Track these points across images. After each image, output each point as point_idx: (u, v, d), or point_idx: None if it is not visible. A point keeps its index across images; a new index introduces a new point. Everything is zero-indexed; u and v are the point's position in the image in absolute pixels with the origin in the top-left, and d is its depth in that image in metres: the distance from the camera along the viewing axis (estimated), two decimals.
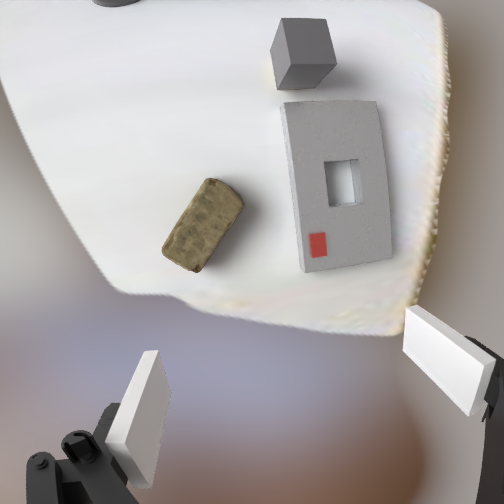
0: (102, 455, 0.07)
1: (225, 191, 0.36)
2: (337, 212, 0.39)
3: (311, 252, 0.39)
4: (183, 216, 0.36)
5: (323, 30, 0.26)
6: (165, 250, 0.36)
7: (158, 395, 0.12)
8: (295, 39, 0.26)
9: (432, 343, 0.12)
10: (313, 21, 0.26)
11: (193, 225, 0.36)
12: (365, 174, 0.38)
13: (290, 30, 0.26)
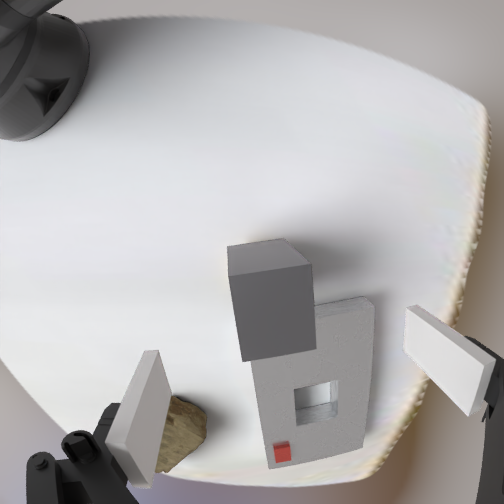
0: (102, 455, 0.07)
1: (184, 430, 0.29)
2: (306, 428, 0.32)
3: (275, 458, 0.32)
4: None
5: (304, 290, 0.19)
6: None
7: (158, 395, 0.12)
8: (252, 319, 0.19)
9: (432, 343, 0.12)
10: (287, 274, 0.18)
11: None
12: (343, 392, 0.31)
13: (244, 301, 0.19)
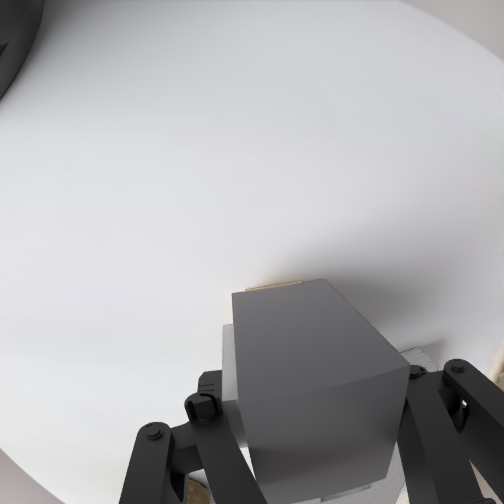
0: (223, 417, 0.09)
1: None
2: (331, 503, 0.21)
3: None
4: None
5: (388, 409, 0.08)
6: None
7: None
8: (285, 463, 0.08)
9: None
10: (363, 390, 0.08)
11: None
12: None
13: (271, 440, 0.08)
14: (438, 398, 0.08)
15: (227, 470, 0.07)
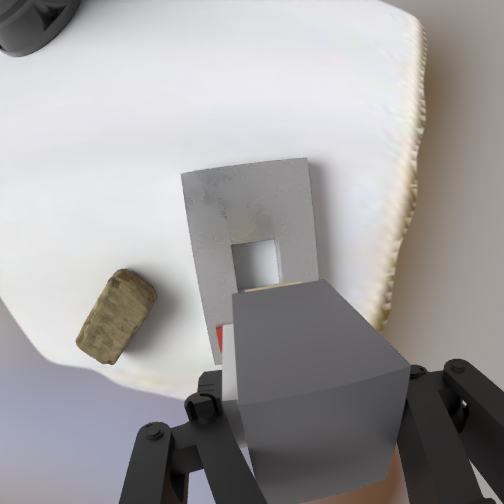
0: (223, 417, 0.09)
1: (128, 295, 0.31)
2: None
3: None
4: (91, 316, 0.31)
5: (389, 411, 0.08)
6: (78, 344, 0.31)
7: None
8: (285, 464, 0.08)
9: None
10: (363, 391, 0.08)
11: (100, 325, 0.31)
12: (286, 256, 0.33)
13: (271, 441, 0.08)
14: (438, 398, 0.08)
15: (227, 470, 0.07)
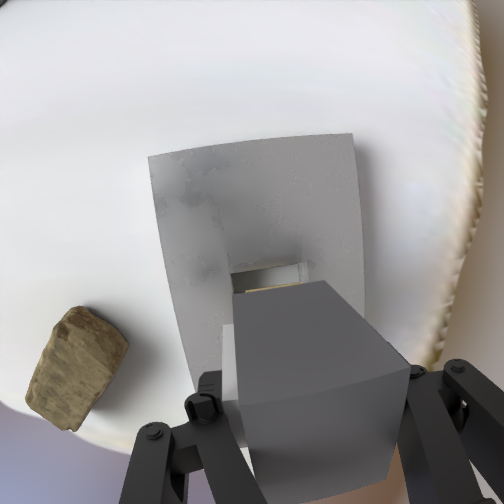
0: (223, 417, 0.09)
1: (83, 351, 0.18)
2: None
3: None
4: (37, 372, 0.18)
5: (389, 411, 0.08)
6: (28, 403, 0.19)
7: None
8: (285, 465, 0.08)
9: None
10: (364, 392, 0.08)
11: (51, 386, 0.18)
12: None
13: (272, 442, 0.08)
14: (438, 398, 0.08)
15: (227, 470, 0.07)
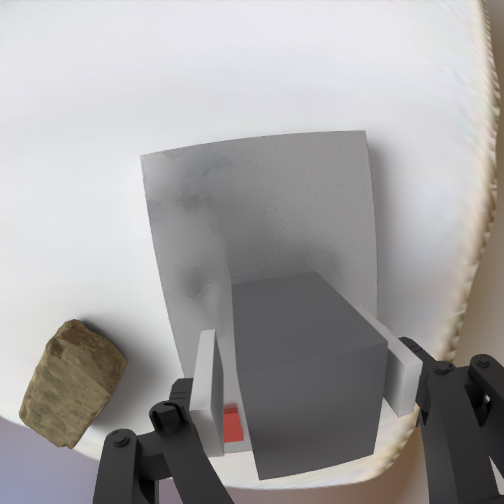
0: (189, 426, 0.09)
1: (78, 370, 0.16)
2: None
3: None
4: (30, 389, 0.16)
5: (370, 383, 0.09)
6: (22, 419, 0.17)
7: (218, 370, 0.14)
8: (278, 432, 0.10)
9: None
10: (346, 363, 0.09)
11: (45, 403, 0.17)
12: None
13: (265, 409, 0.09)
14: (464, 394, 0.08)
15: (196, 479, 0.07)
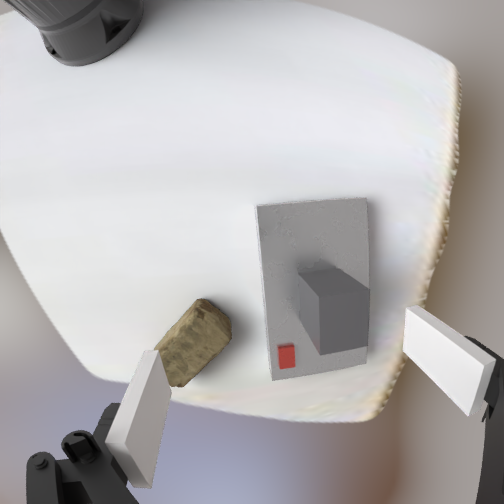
0: (102, 455, 0.07)
1: (213, 326, 0.34)
2: None
3: (279, 363, 0.37)
4: (169, 342, 0.34)
5: (363, 306, 0.27)
6: None
7: (158, 395, 0.12)
8: (330, 325, 0.27)
9: (432, 343, 0.12)
10: (354, 295, 0.27)
11: (178, 351, 0.34)
12: None
13: (326, 313, 0.27)
14: None
15: None
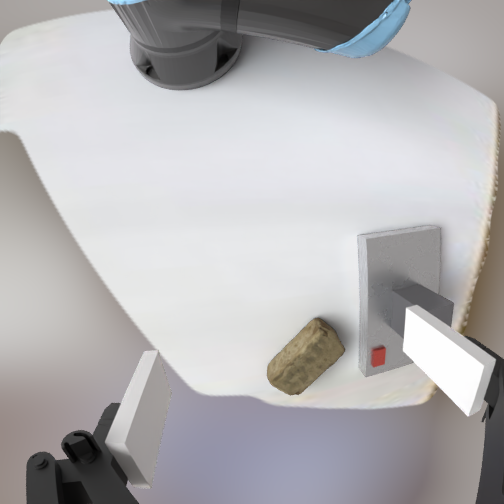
0: (102, 455, 0.07)
1: (334, 341, 0.40)
2: None
3: (372, 363, 0.42)
4: (296, 358, 0.40)
5: (449, 315, 0.33)
6: (274, 382, 0.40)
7: (158, 395, 0.12)
8: None
9: (432, 343, 0.12)
10: (445, 308, 0.33)
11: (303, 365, 0.40)
12: None
13: None
14: None
15: None
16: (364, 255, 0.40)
